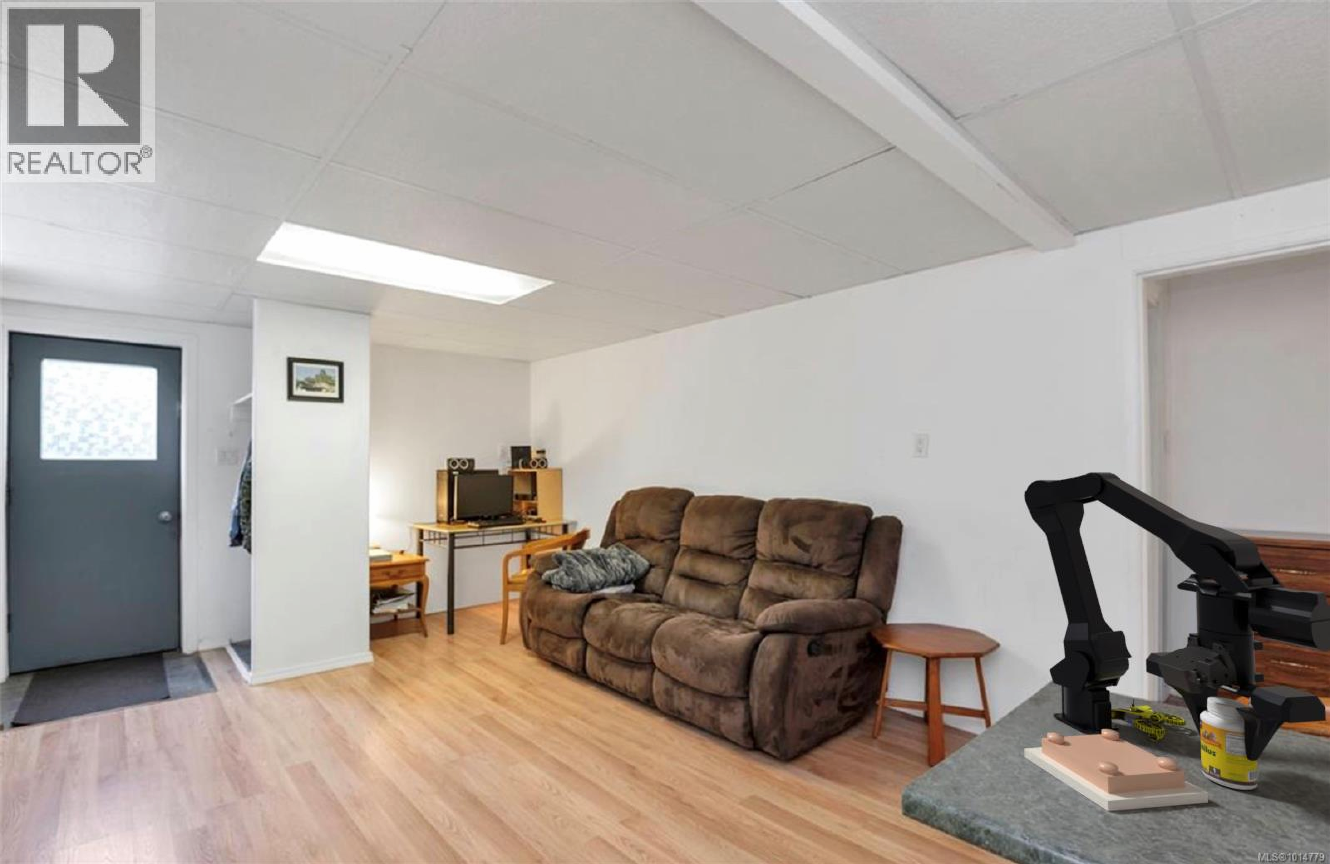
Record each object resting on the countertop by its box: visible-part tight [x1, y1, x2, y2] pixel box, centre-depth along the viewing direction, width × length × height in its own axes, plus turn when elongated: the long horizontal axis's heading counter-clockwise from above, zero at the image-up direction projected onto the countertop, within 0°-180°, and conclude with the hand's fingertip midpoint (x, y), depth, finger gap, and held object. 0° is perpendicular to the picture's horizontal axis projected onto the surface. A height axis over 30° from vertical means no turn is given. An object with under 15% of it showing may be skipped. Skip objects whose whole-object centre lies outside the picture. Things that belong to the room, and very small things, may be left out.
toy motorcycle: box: [1112, 698, 1187, 742], centre depth 99 cm, size 12×4×7 cm
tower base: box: [1024, 729, 1209, 812], centre depth 84 cm, size 14×14×4 cm
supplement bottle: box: [1200, 696, 1259, 791], centre depth 84 cm, size 6×6×10 cm
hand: (1228, 749), depth 84 cm, fingers closed on supplement bottle, 6 cm apart
